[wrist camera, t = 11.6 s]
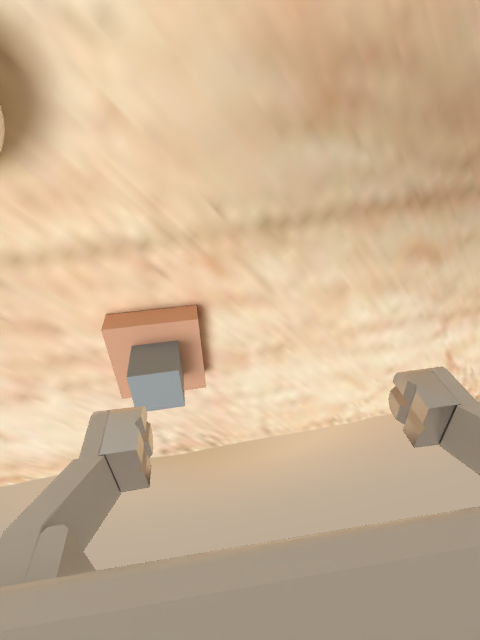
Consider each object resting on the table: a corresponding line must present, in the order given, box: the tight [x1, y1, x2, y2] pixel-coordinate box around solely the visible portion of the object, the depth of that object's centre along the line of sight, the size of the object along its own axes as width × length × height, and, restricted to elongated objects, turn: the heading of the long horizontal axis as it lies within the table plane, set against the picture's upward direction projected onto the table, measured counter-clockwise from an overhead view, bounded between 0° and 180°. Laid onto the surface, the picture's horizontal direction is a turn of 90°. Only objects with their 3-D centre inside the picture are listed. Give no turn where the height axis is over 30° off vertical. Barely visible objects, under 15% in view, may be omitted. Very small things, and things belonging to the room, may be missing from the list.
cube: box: [127, 340, 185, 411], centre depth 37 cm, size 5×5×5 cm
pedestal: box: [101, 305, 206, 399], centre depth 41 cm, size 10×10×3 cm
